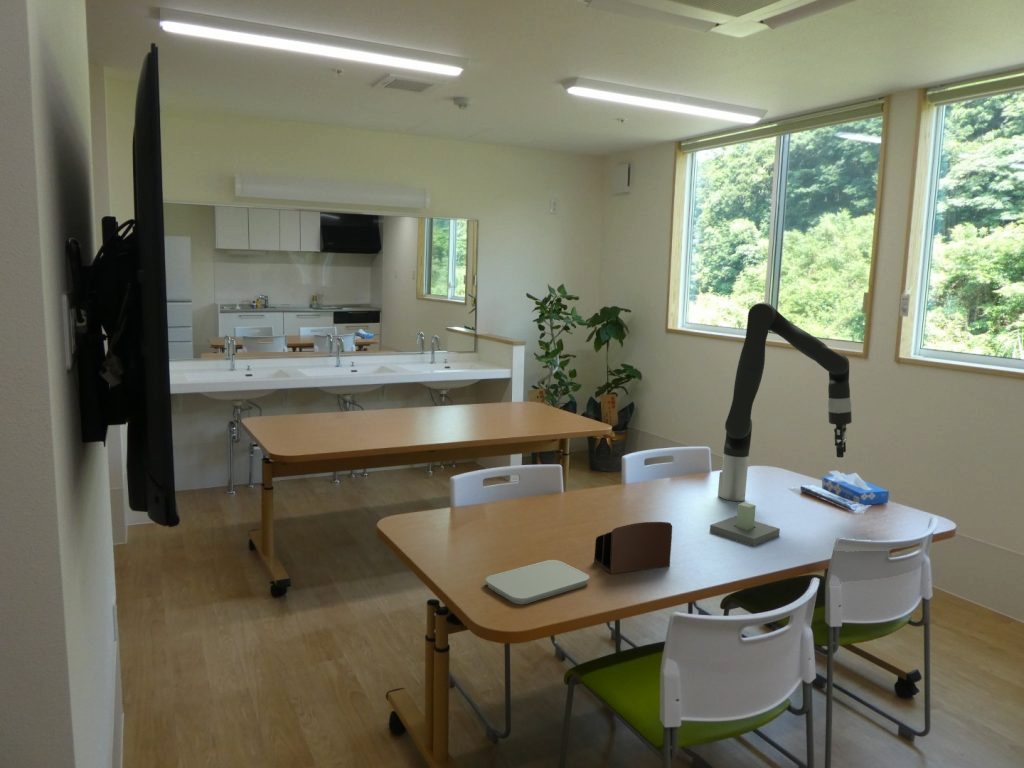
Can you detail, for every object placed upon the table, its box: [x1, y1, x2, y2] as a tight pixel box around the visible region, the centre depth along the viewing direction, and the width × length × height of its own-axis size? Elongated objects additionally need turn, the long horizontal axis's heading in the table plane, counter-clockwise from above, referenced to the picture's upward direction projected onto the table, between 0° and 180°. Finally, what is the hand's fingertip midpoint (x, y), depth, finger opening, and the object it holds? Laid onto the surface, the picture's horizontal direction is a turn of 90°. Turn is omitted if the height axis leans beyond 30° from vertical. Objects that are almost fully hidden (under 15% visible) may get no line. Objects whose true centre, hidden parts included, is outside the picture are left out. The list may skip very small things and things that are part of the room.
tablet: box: [485, 559, 590, 605], centre depth 200 cm, size 16×26×2 cm, turn 128°
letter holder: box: [593, 521, 673, 575], centre depth 215 cm, size 10×20×14 cm, turn 112°
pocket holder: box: [709, 515, 781, 547], centre depth 246 cm, size 16×16×2 cm
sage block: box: [736, 501, 757, 530], centre depth 245 cm, size 4×4×10 cm
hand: (841, 454), depth 268 cm, fingers open, 8 cm apart
